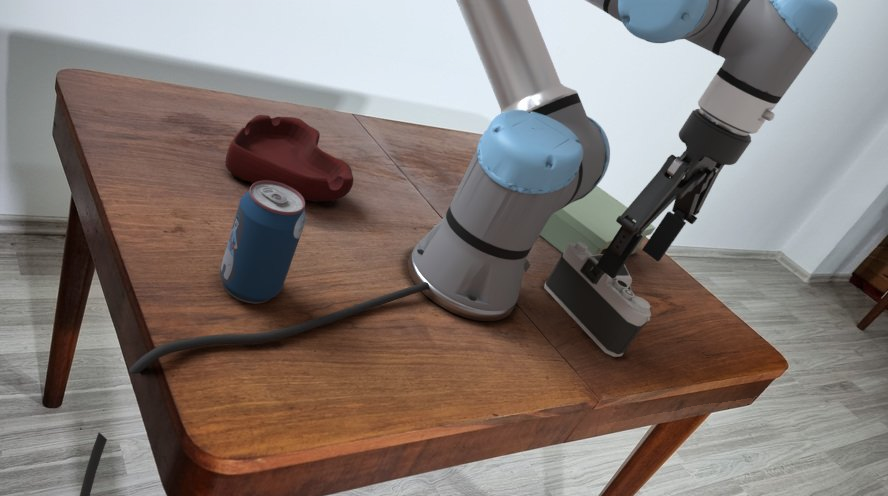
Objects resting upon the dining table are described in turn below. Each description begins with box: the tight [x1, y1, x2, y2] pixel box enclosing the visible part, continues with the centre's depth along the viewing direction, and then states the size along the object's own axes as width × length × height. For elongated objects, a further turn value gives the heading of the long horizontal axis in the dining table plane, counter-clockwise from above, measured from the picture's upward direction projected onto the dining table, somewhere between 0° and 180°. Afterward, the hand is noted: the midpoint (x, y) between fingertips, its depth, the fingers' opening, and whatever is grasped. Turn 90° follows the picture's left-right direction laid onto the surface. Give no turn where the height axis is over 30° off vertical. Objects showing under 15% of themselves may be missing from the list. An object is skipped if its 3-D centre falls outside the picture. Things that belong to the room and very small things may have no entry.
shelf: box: [539, 185, 656, 255], centre depth 119 cm, size 18×14×6 cm
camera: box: [543, 242, 652, 358], centre depth 98 cm, size 16×9×10 cm, turn 30°
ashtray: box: [224, 114, 355, 206], centre depth 98 cm, size 18×16×5 cm
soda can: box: [219, 181, 307, 305], centre depth 75 cm, size 7×7×12 cm
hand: (629, 263), depth 95 cm, fingers open, 13 cm apart
